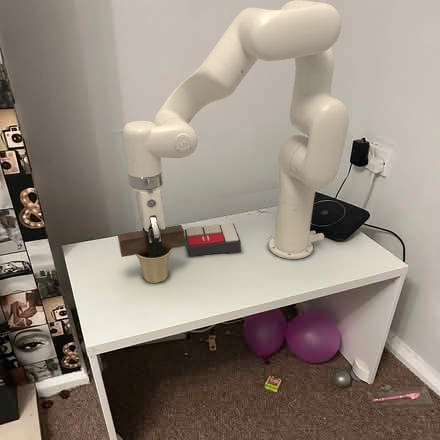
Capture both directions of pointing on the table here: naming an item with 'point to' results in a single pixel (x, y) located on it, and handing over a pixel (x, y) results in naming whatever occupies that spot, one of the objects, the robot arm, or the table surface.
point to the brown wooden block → (139, 240)
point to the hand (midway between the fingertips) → (153, 247)
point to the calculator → (212, 239)
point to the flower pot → (155, 266)
